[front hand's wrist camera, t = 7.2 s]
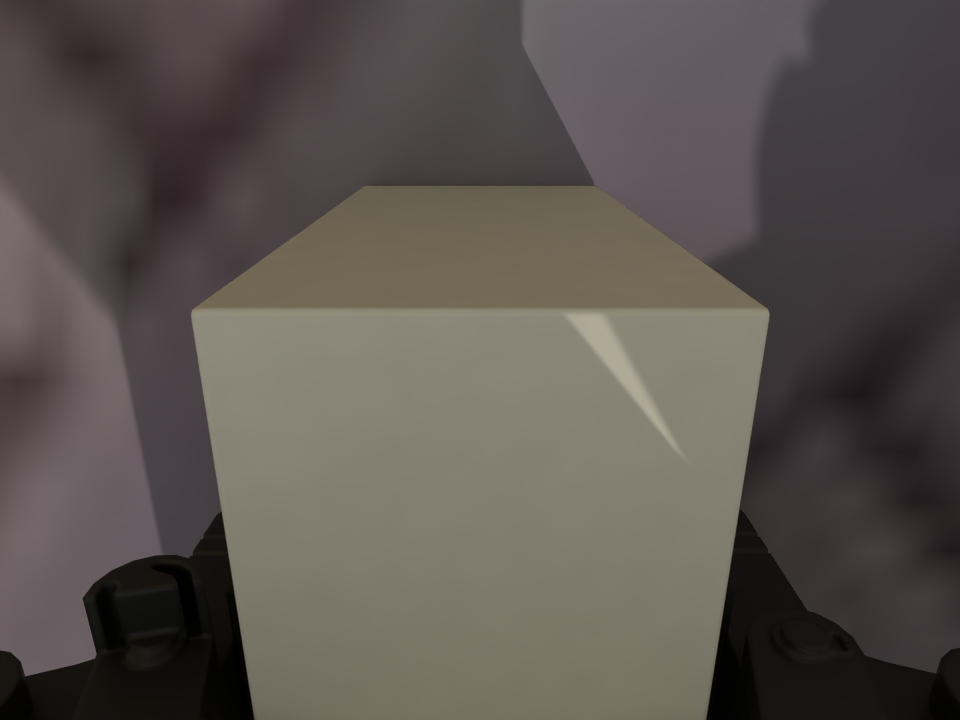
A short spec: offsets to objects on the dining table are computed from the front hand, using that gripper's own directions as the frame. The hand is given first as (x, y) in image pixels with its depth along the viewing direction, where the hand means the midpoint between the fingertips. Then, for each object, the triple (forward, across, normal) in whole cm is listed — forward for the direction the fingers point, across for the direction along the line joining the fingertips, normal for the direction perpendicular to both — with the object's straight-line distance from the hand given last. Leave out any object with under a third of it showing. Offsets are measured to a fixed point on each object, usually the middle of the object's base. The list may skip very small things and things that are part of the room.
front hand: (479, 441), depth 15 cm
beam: (+1, 0, -20) cm, 20 cm away
